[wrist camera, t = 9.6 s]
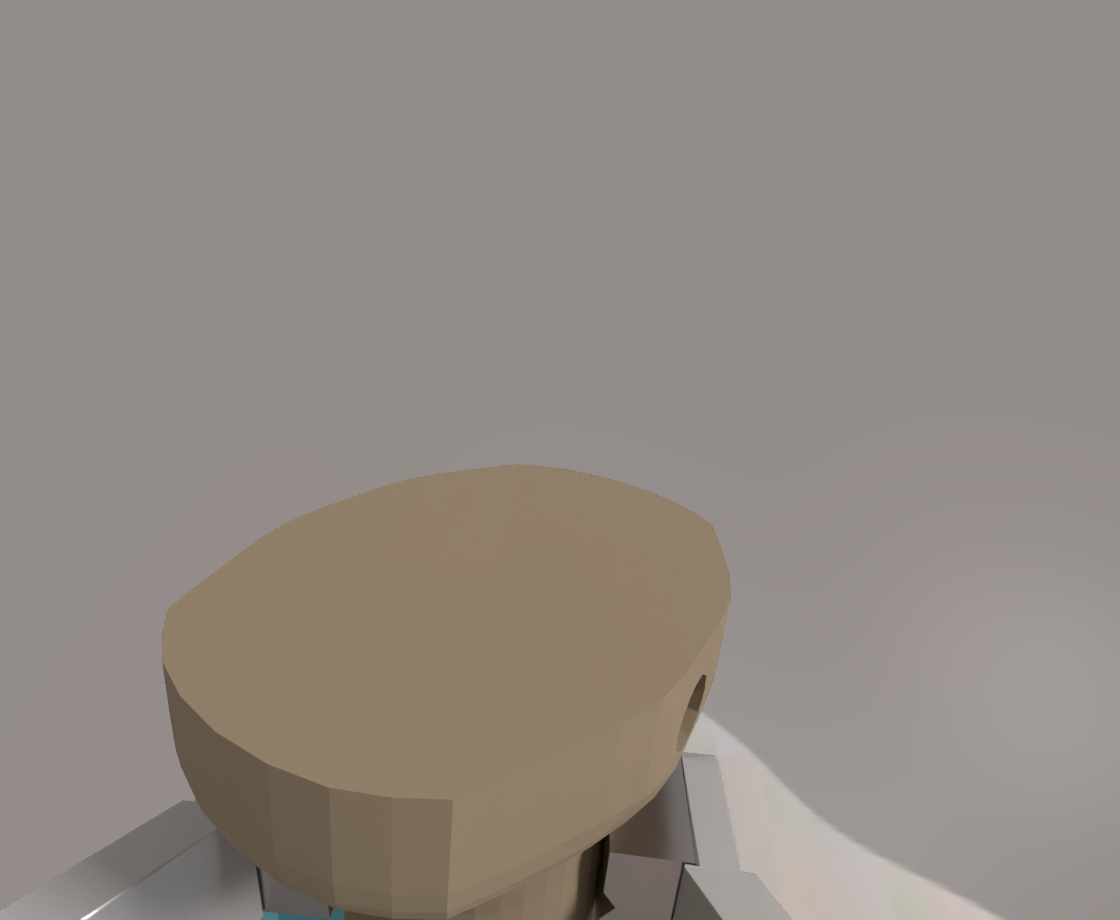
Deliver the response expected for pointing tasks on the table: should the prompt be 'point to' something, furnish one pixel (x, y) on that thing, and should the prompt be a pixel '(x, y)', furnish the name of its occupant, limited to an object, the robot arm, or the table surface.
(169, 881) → the robot arm
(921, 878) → the table surface
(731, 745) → the table surface
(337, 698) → the handle
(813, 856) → the table surface
